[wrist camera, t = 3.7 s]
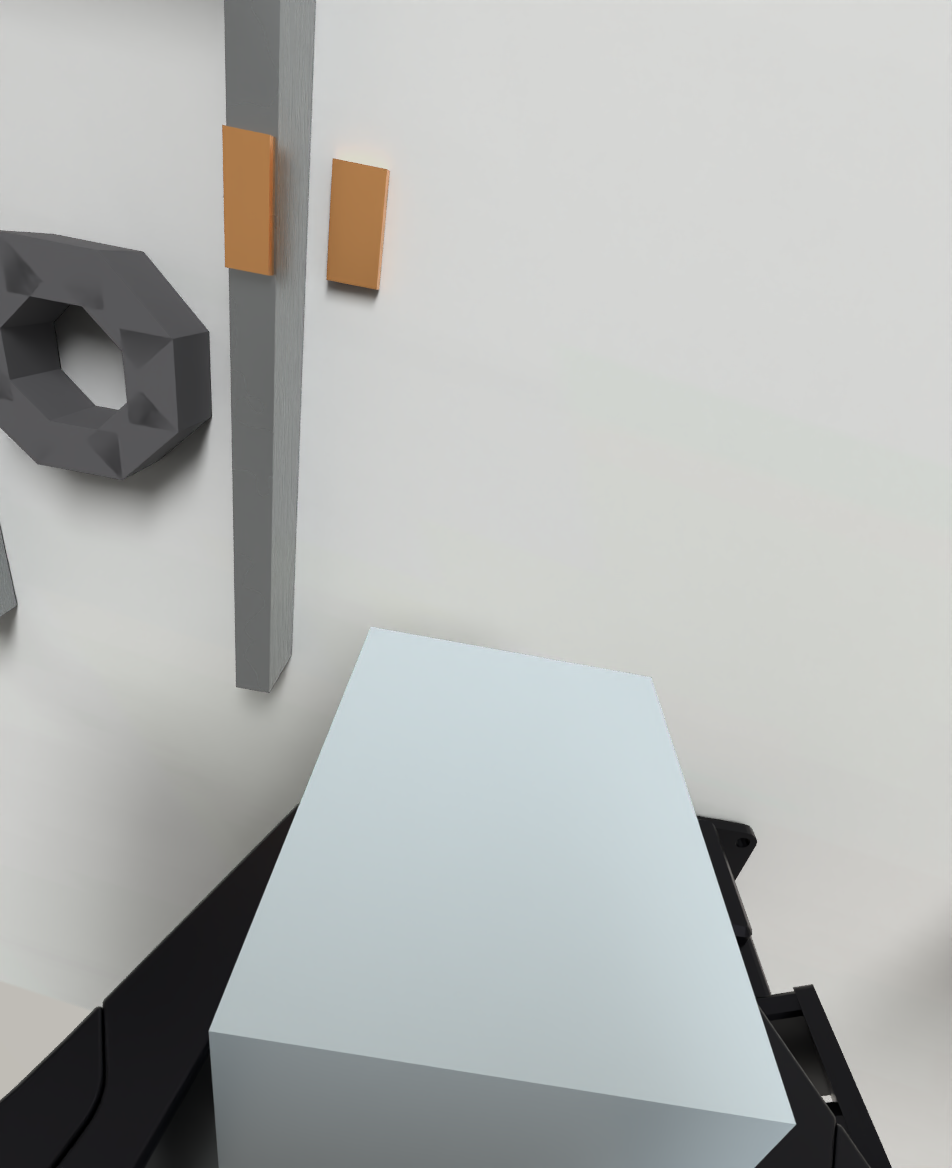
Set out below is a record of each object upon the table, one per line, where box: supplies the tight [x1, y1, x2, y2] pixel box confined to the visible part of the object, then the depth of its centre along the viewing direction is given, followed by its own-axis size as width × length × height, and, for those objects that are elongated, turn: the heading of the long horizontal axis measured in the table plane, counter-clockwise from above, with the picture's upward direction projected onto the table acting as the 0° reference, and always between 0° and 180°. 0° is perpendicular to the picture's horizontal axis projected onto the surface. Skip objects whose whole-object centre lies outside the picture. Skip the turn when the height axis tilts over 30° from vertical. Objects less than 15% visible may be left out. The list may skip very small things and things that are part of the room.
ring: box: [0, 230, 212, 480], centre depth 15 cm, size 5×5×2 cm
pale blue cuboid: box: [209, 627, 796, 1168], centre depth 7 cm, size 5×4×5 cm
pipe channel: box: [0, 0, 390, 693], centre depth 14 cm, size 19×14×2 cm
